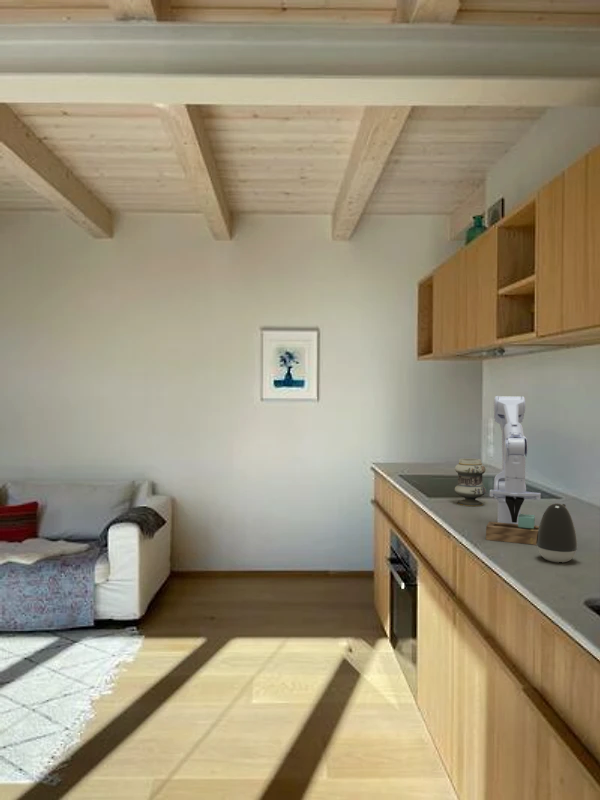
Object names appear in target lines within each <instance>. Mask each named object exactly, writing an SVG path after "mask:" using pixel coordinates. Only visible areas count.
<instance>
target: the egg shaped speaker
mask: <svg viewBox="0 0 600 800" xmlns="http://www.w3.org/2000/svg"><path fill="white" fill-rule="evenodd" d="M538 526H539V529H538V534H537V540H536V545H535V546H537V550H538V553H539V554H540V555H541V558H543V559H544V560H547V561H548V562H552V563H559V562H562V563H567V562H570V561H571V560H572V559H573V558H574V557H575V555H576V552H577V550H578V548H579V547H578V539H577V533H576V528H575V524H574V521H573V518H572V516H571V513H570V512H569V510H568V508H567V507H566V504H564V503H552V504H550V505H549V506H547V507H546V509H545V511H544V512H543V515H542V517H541V520H540V523H539V525H538Z"/></svg>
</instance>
